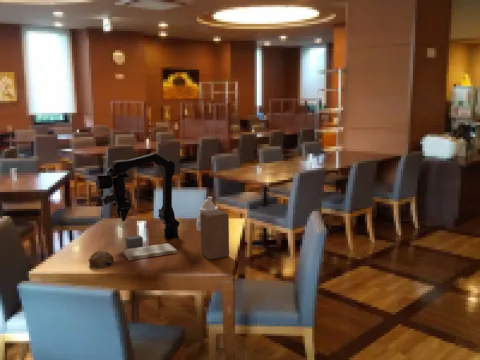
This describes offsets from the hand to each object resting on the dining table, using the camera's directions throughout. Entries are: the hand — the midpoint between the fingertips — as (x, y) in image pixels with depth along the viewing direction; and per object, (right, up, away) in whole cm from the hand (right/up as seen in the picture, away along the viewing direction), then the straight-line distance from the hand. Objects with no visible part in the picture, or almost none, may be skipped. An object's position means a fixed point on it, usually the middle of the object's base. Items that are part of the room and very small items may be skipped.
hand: (121, 219), depth 229 cm
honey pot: (+40, -8, +31) cm, 51 cm away
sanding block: (+6, -14, -1) cm, 15 cm away
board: (+15, -15, -9) cm, 23 cm away
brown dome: (-3, -18, -25) cm, 31 cm away
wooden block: (+46, -15, -15) cm, 50 cm away
